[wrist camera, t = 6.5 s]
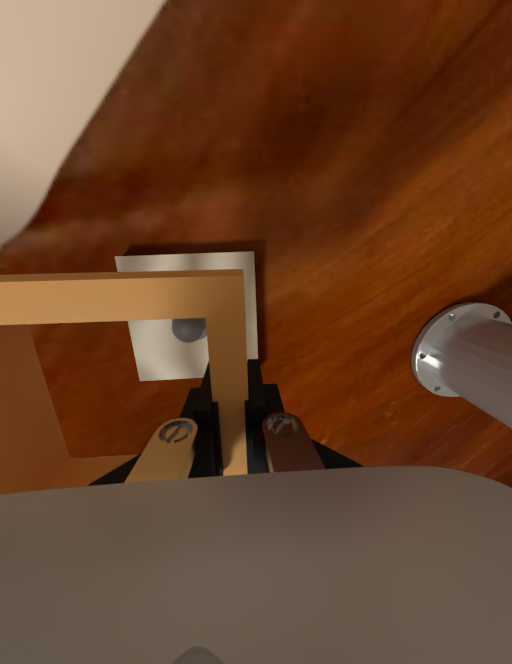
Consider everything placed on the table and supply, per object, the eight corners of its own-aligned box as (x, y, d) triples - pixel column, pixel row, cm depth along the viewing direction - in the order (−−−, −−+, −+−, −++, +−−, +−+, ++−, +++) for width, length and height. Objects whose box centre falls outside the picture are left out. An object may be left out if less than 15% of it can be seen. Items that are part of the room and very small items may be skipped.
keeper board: (253, 251, 26) (255, 250, 22) (257, 368, 30) (260, 386, 26) (121, 256, 26) (97, 256, 21) (144, 375, 30) (128, 395, 25)
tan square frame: (242, 269, 11) (244, 275, 7) (250, 464, 14) (253, 542, 10) (-19, 275, 10) (-176, 287, 6) (53, 477, 13) (-22, 564, 10)
